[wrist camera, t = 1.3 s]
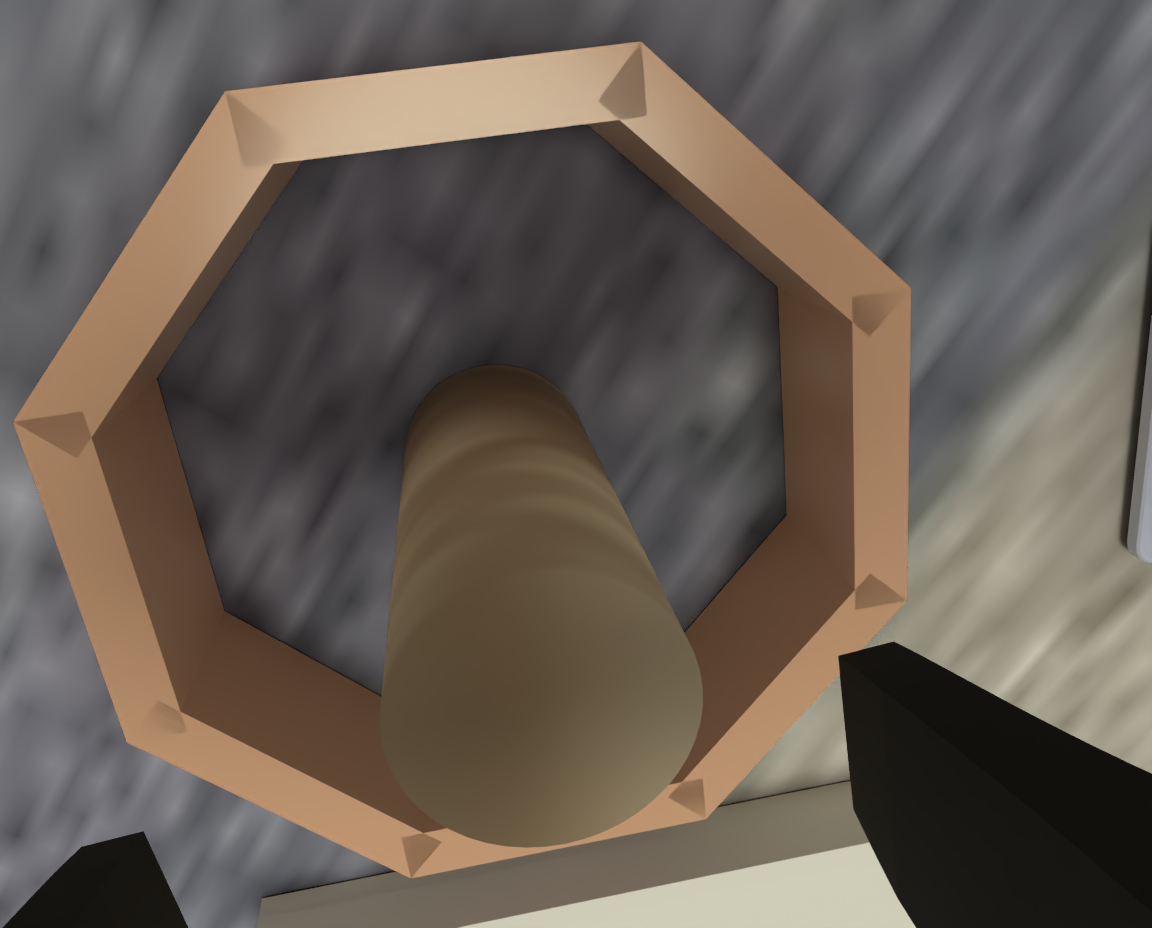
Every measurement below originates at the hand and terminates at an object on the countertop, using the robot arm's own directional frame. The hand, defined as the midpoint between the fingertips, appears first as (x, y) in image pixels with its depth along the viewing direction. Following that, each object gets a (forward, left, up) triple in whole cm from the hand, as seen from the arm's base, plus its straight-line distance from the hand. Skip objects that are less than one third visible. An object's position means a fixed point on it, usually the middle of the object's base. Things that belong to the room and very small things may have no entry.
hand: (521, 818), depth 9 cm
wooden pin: (0, 0, -10) cm, 10 cm away
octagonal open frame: (0, 0, -10) cm, 10 cm away
